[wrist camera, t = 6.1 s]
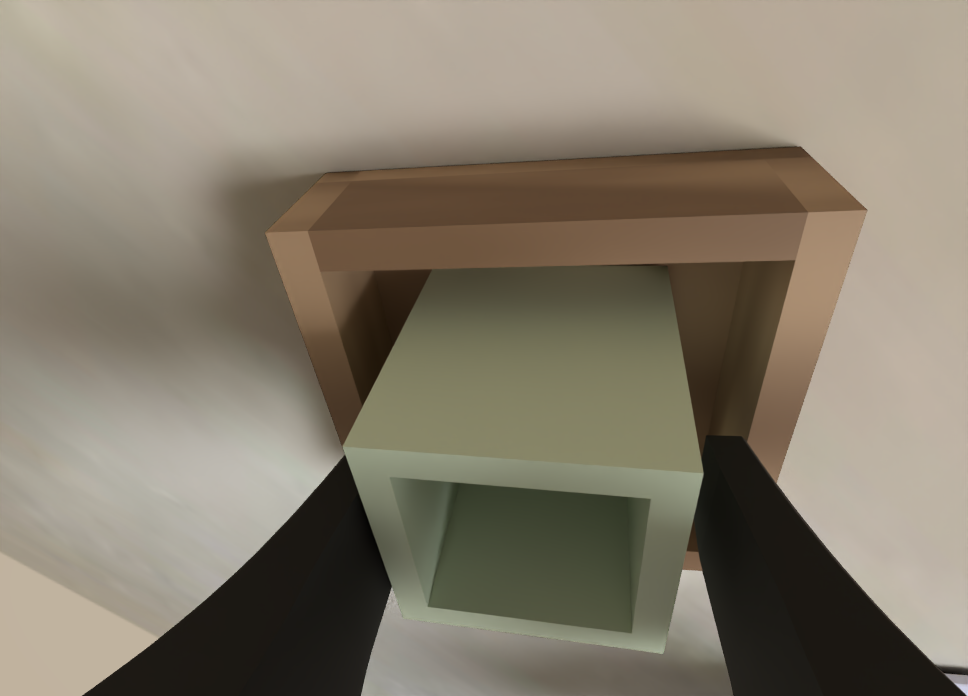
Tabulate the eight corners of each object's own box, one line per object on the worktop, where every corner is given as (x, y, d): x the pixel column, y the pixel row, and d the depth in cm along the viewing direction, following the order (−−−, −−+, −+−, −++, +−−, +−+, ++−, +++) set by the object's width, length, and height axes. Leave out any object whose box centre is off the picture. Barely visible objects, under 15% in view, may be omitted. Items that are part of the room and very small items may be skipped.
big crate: (720, 479, 16) (746, 573, 14) (406, 467, 18) (379, 550, 15) (800, 146, 10) (867, 210, 8) (325, 172, 12) (265, 232, 10)
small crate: (646, 435, 14) (663, 653, 10) (460, 424, 15) (403, 618, 11) (667, 266, 11) (703, 472, 7) (434, 264, 12) (341, 446, 8)
